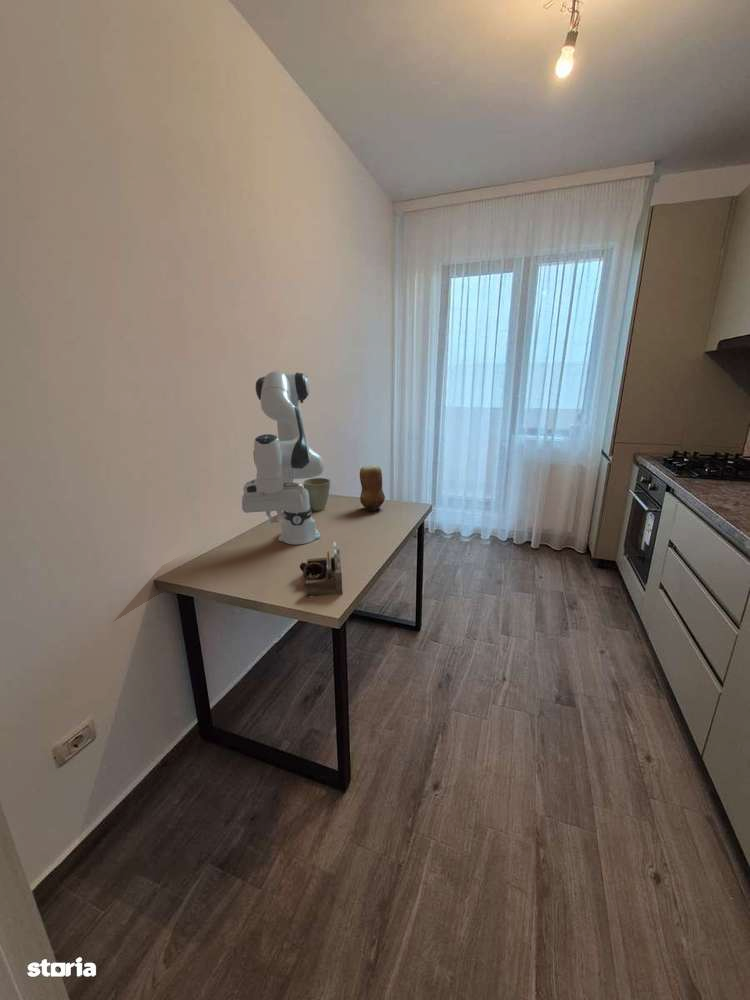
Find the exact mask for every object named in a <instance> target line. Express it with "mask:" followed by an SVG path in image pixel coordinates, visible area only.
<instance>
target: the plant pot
mask: <svg viewBox="0 0 750 1000" xmlns="http://www.w3.org/2000/svg"><path fill="white" fill-rule="evenodd" d="M302 484H303V485H302V486H303V488H305V489H306V490H307V491H308V493H309V504H310V508H311V511H317V512H318V511H323V510H325V509H326V506H327V504H328V500H329V499H328V498H329V494H330V486H331V480H330V479H329V478H324V477H312V478H306V479H305V480H302Z"/></svg>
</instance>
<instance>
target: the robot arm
mask: <svg viewBox="0 0 750 1000" xmlns="http://www.w3.org/2000/svg"><path fill="white" fill-rule="evenodd" d="M310 385H311V384H310V381H309V379H308V377H307V376H306V374H305V373H301V372H296V373H287V372H286V373H283V372H281V371H279V370H278V371H277V370H276V371H270V372H269V373H267V374H266V375H265V376H261V377H259V378H258V379H257V380H256V381H255V394H256V396H257V398H258V400H260V407H261V408H260V409H261V410H262V411H263V413H264V414H265V416H267V417H268V418H270V419H271V420H273V421H276V425H277V435H274V434H267V433H266V434H262V435H258V436H257V437H255V438H254V442H253V443H254V444H253V462H254V465H255V468H256V477H255V479H254V478H253V479H252V480H249V481H247V482H246V483H245V484H244V485H243V488H242V489H243V494H242V497H241V509H242V511H243V512H244V513H261V512H262V513H264V512H265V514H266V516H267V517H268V518H269V522H270V524H273V523H280V517H281V514H282V512H283V517H284V520H283V521H282V522H281V534H280V536H279V537H278V541H280V542H284V543H286V544H288V545H303V544H308V543H311V542H313V541H315V540H318V539H320V538H321V534H320V532H319V530H318V529H317V526H316V521H315V519H314V518H313V517H312V509H311V507H310V504H309V493H308V491H307V490H306V489H305V488H304V486H303V485H302V484H300V483H298V482H294V480H301V479H302V480H303V479H312V478H317V477H319V476H321V475H322V474H323V472H324V469H325V462H324V459H323V458H322V456H321V455H320V454H318V453H317V452H316V451H315V450H313V449H312V447H311V446H310V445H309V444H308V441H307V439H306V434H305V428H304V419H303V418H304V417H303V412H302V411H303V410H302V408H301V404H303V403H304V401H305V400H306V399H307V398H308V396H309V394H310V391H311V390H310V389H311V386H310ZM271 512H276V514H277V516H273V515H272V514H271Z"/></svg>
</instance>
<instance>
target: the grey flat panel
mask: <svg viewBox="0 0 750 1000" xmlns="http://www.w3.org/2000/svg"><path fill="white" fill-rule="evenodd" d="M326 553H327V556H326V558H327V572H326V577H327V578H326V579H333V576H332V575H333V573H332V571H331V557H332V555H330V551H327V552H326Z"/></svg>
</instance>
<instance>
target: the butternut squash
mask: <svg viewBox="0 0 750 1000" xmlns="http://www.w3.org/2000/svg"><path fill="white" fill-rule="evenodd" d="M359 481H360V485H361V492H360V497H359V500H360V503H361V505H362V506H363V508H364V509H366V510H369V511H377V510H379V508H380V507H381V506H382V505H383V504H384V502H385V499H386V496H385V494H384V491H383V473H382V469H381V467H380V466H379V465H377V464H370V465H364V466H362V467H361V468H360V469H359Z"/></svg>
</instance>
